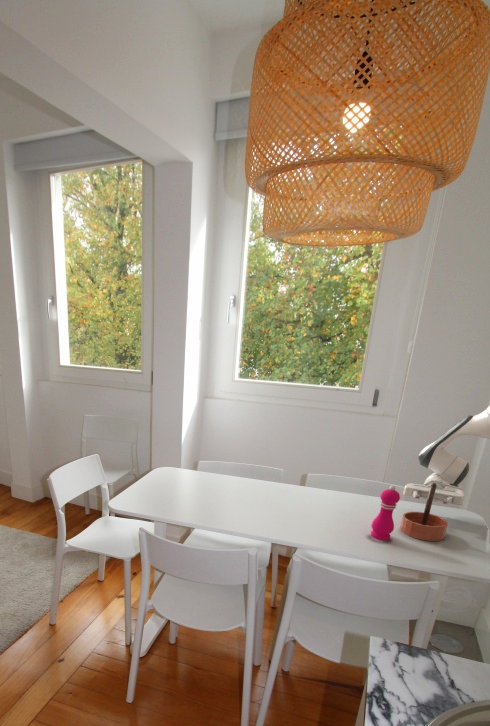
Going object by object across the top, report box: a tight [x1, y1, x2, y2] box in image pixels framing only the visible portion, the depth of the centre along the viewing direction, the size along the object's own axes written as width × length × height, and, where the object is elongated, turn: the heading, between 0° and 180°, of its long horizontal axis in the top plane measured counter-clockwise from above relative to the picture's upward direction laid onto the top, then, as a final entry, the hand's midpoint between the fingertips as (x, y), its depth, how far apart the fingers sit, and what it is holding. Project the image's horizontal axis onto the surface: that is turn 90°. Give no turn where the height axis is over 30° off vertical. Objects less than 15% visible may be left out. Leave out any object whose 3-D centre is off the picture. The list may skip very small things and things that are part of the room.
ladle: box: [421, 483, 437, 526], centre depth 169 cm, size 6×6×19 cm
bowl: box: [399, 511, 449, 542], centre depth 171 cm, size 14×14×6 cm
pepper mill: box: [370, 485, 401, 542], centre depth 164 cm, size 7×7×20 cm
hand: (431, 499), depth 176 cm, fingers open, 8 cm apart
